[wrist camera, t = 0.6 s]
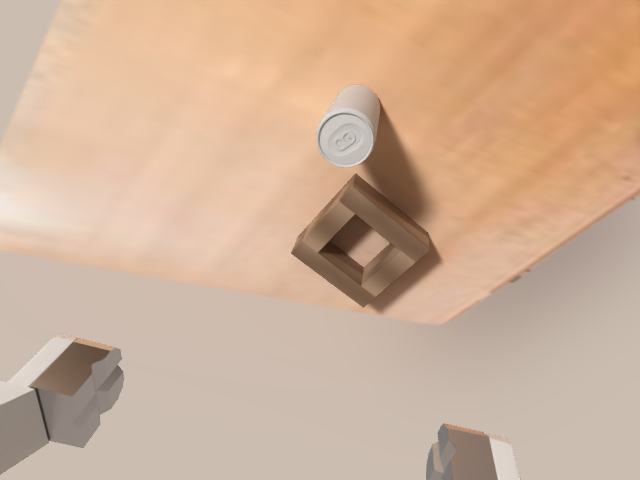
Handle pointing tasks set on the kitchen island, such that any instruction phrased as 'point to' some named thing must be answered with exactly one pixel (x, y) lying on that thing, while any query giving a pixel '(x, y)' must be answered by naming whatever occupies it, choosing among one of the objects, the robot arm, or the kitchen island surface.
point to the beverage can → (349, 127)
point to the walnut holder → (383, 218)
